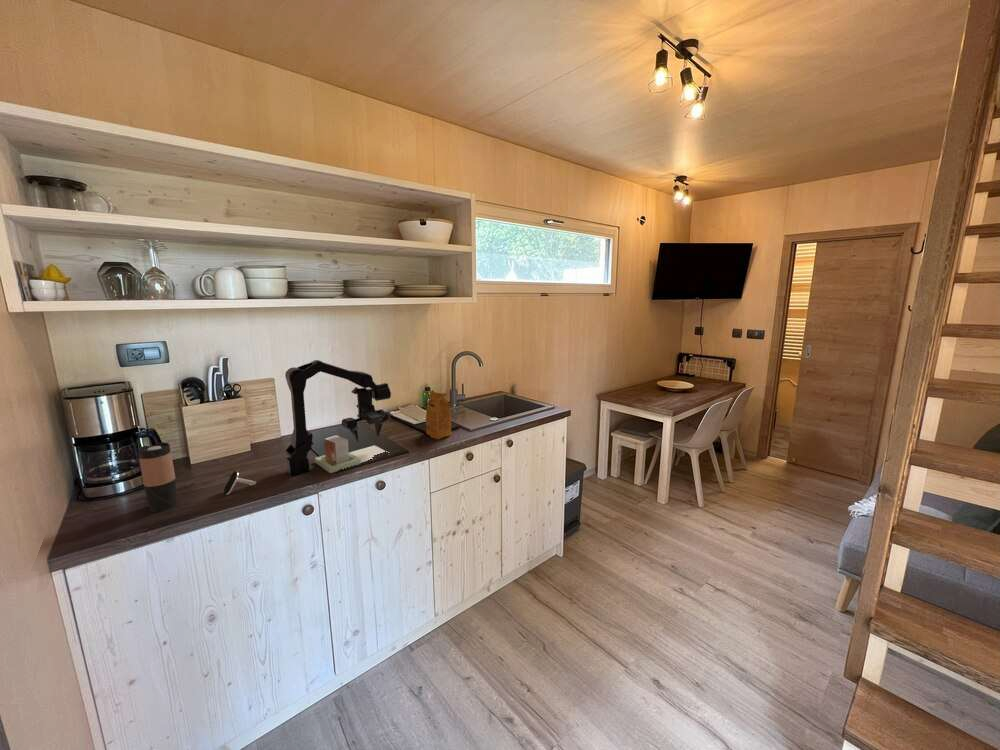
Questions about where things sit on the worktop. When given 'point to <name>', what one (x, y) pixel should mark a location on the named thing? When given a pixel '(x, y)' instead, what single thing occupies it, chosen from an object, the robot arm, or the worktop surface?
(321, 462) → the pocket frame
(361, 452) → the plate
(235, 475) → the rubber stamp
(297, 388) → the robot arm
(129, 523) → the worktop surface
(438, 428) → the coffee package
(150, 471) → the travel mug
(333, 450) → the small box
